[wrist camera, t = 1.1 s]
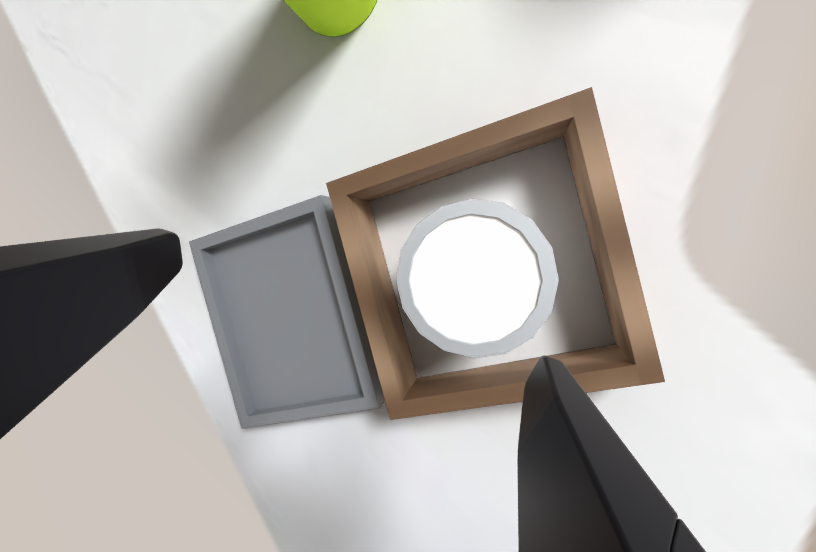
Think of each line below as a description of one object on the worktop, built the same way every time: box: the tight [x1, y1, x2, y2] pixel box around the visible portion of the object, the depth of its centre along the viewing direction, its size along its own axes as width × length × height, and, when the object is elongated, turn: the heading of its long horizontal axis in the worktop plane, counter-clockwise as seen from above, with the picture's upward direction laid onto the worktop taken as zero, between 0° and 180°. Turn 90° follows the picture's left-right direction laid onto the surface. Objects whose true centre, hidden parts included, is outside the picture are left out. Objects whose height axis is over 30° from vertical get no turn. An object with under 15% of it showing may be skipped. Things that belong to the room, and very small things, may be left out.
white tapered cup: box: [396, 199, 559, 358], centre depth 19 cm, size 7×7×7 cm
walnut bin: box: [326, 87, 665, 420], centre depth 20 cm, size 14×14×4 cm
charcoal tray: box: [189, 195, 385, 428], centre depth 25 cm, size 14×11×2 cm
